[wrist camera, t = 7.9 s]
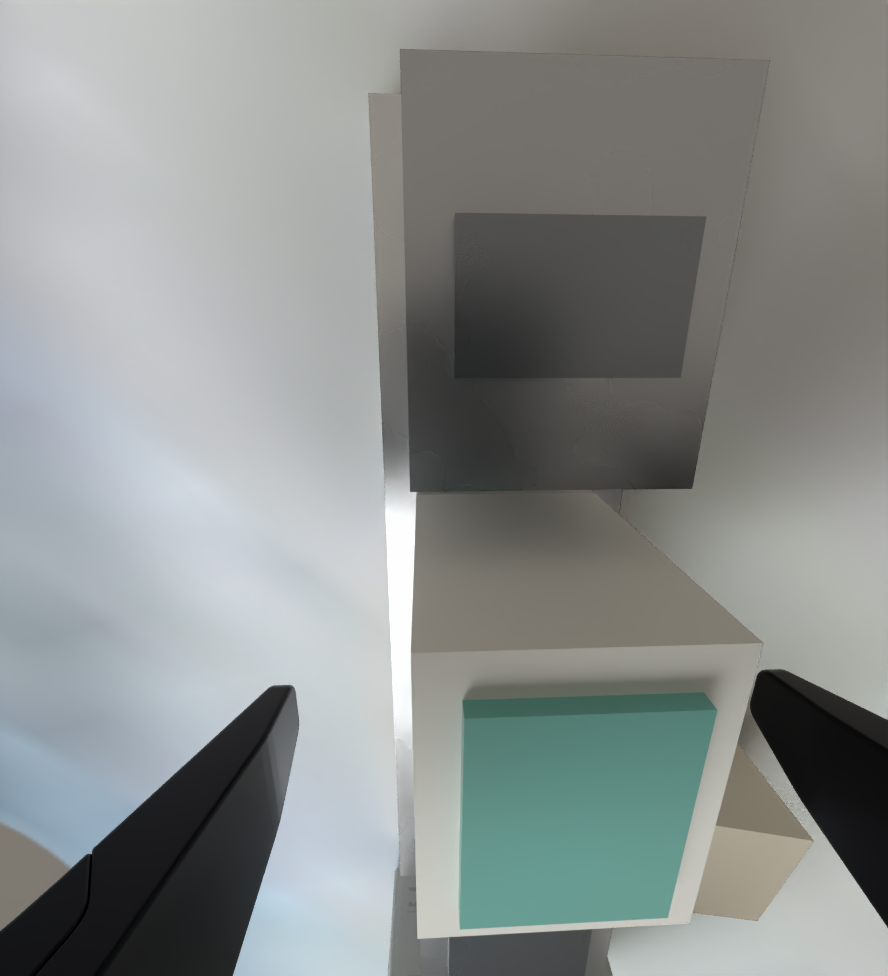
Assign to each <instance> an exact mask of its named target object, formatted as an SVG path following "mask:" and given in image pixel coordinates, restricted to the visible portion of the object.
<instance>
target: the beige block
mask: <svg viewBox="0 0 888 976" xmlns="http://www.w3.org/2000/svg"><path fill="white" fill-rule="evenodd" d="M813 842H814V840H813V839H812V838H811V836H810V835H809V834H808V833H807V831H806V830H805V829H804V828H803V826H802V825H801V824H800V822H799V821H798V820H797V819H796V817H795V816H794V815H793V813H792V812H791V811H790V810H789V808H788V807H787V806H786V805H785V803H784V802H783V801H782V799H781V798H780V797H779V796H778V794H777V793H776V792H775V790H774V789H773V788H772V787H771V785H770V784H769V783H768V782H767V780H766V779H765V778H764V776H763V775H762V774H761V773H760V771H759V770H758V769H757V767H756V766H755V765H754V764H753V762H752V761H751V760H750V759H749V757H748V756H747V755H746V753H745V752H744V751H743V750H742V748H741V747H740V746H739V745H738V743H737V746H736V750H735V754H734V758H733V761H732V765H731V769H730V773H729V777H728V780H727V784H726V788H725V792H724V796H723V799H722V803H721V807H720V811H719V814H718V818H717V822H716V826H715V830H714V833H713V837H712V841H711V845H710V849H709V852H708V856H707V860H706V864H705V867H704V871H703V875H702V879H701V883H700V886H699V890H698V894H697V898H696V902H695V905H694V909H693V913H699V914H707V915H714V916H722V917H730V918H738V919H745V920H753V921H758V920H759V918H760V917H761V915H762V914H763V913H764V911H765V910H766V908H767V907H768V906H769V904H770V903H771V901H772V900H773V898H774V897H775V896H776V894H777V893H778V891H779V890H780V889H781V887H782V886H783V884H784V883H785V881H786V880H787V879H788V877H789V876H790V874H791V873H792V872H793V870H794V869H795V867H796V866H797V864H798V863H799V862H800V860H801V859H802V857H803V856H804V855H805V853H806V852H807V850H808V849H809V847H810V846H811V845H812V843H813Z"/></svg>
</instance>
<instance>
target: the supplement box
mask: <svg viewBox="0 0 888 976" xmlns="http://www.w3.org/2000/svg"><path fill="white" fill-rule="evenodd" d="M388 976H421V959H420V939H417V900H416V875H412V876H400V865H399V866H398V867H397V869H396V871H395V879H394V893H393V908H392V923H391V937H390V951H389V964H388ZM604 976H613V975H612V971H611V968H610V964H609V961H608V957H607V960H606V966H605V971H604Z"/></svg>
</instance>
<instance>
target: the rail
mask: <svg viewBox="0 0 888 976" xmlns="http://www.w3.org/2000/svg"><path fill="white" fill-rule="evenodd" d="M769 63H770V60H740V59H707V58H675V57H643V56H610V55H578V54H545V53H513V52H480V51H448V50H415V49H400V71H401V94H378V93H369V117H370V141H371V166H372V190H373V215H374V239H375V264H376V288H377V313H378V338H379V362H380V387H381V411H382V436H383V460H384V485H385V509H386V534H387V558H388V583H389V607H390V632H391V656H392V681H393V705H394V730H395V754H396V779H397V803H398V828H399V852H400V876H412V875H416V858H415V816H414V774H413V732H412V690H411V629H412V601H413V573H414V545H415V517H416V495H438V494H520V493H595V494H596V495H597V496H598V497H600V498H601V499H602V500H603V501H604V502H605V503H606V504H607V505H609V506H610V507H611V508H612V509H613V510H614V511H615V512H617V513H618V514H619V512H620V504H621V496H622V489H692V487H693V481H694V475H695V470H696V464H697V459H698V453H699V448H700V442H701V437H702V431H703V426H704V420H705V415H706V409H707V404H708V398H709V393H710V387H711V382H712V376H713V371H714V365H715V360H716V354H717V349H718V343H719V338H720V332H721V327H722V321H723V316H724V310H725V305H726V299H727V294H728V288H729V283H730V277H731V272H732V266H733V261H734V255H735V250H736V244H737V239H738V233H739V228H740V222H741V217H742V211H743V206H744V200H745V195H746V189H747V184H748V178H749V173H750V167H751V162H752V156H753V151H754V145H755V140H756V134H757V129H758V123H759V118H760V112H761V107H762V101H763V96H764V90H765V85H766V79H767V74H768V68H769ZM611 932H612V928H602V929H584V930H566V931H548V932H531V933H513V934H495V935H477V936H460V937H442V938H424V939H420V959H421V976H604V971H605V966H606V960H607V954H608V949H609V943H610V938H611Z"/></svg>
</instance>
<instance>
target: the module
mask: <svg viewBox="0 0 888 976" xmlns="http://www.w3.org/2000/svg"><path fill="white" fill-rule="evenodd" d="M763 644H764V643H763V642H762V641H761V640H760V639H758V638H757V637H756V636H755V635H754V634H753V633H752V632H751V631H749V630H748V629H747V628H746V627H745V626H744V625H743V624H742V623H740V622H739V621H738V620H737V619H736V618H735V617H734V616H733V615H731V614H730V613H729V612H728V611H727V610H726V609H725V608H724V607H722V606H721V605H720V604H719V603H718V602H717V601H716V600H715V599H713V598H712V597H711V596H710V595H709V594H708V593H707V592H706V591H704V590H703V589H702V588H701V587H700V586H699V585H698V584H696V583H695V582H694V581H693V580H692V579H691V578H690V577H689V576H687V575H686V574H685V573H684V572H683V571H682V570H681V569H680V568H678V567H677V566H676V565H675V564H674V563H673V562H672V561H671V560H669V559H668V558H667V557H666V556H665V555H664V554H663V553H662V552H660V551H659V550H658V549H657V548H656V547H655V546H654V545H653V544H651V543H650V542H649V541H648V540H647V539H646V538H645V537H644V536H642V535H641V534H640V533H639V532H638V531H637V530H636V529H635V528H633V527H632V526H631V525H630V524H629V523H628V522H627V521H626V520H624V519H623V518H622V517H621V516H620V515H619V514H618V513H617V512H615V511H614V510H613V509H612V508H611V507H610V506H609V505H607V504H606V503H605V502H604V501H603V500H602V499H601V498H600V497H598V496H597V495H596V494H595V493H520V494H438V495H416V517H415V545H414V573H413V601H412V629H411V690H412V732H413V774H414V816H415V858H416V900H417V939H424V938H442V937H460V936H477V935H495V934H513V933H531V932H548V931H566V930H584V929H602V928H619V927H637V926H655V925H673V924H690V921H691V917H692V913H693V909H694V905H695V902H696V898H697V894H698V890H699V886H700V883H701V879H702V875H703V871H704V867H705V864H706V860H707V856H708V852H709V849H710V845H711V841H712V837H713V833H714V830H715V826H716V822H717V818H718V814H719V811H720V807H721V803H722V799H723V796H724V792H725V788H726V784H727V780H728V777H729V773H730V769H731V765H732V761H733V758H734V754H735V750H736V746H737V742H738V739H739V735H740V731H741V727H742V724H743V720H744V716H745V712H746V708H747V705H748V701H749V697H750V693H751V689H752V686H753V682H754V678H755V674H756V671H757V667H758V663H759V659H760V655H761V652H762V648H763Z"/></svg>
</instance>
